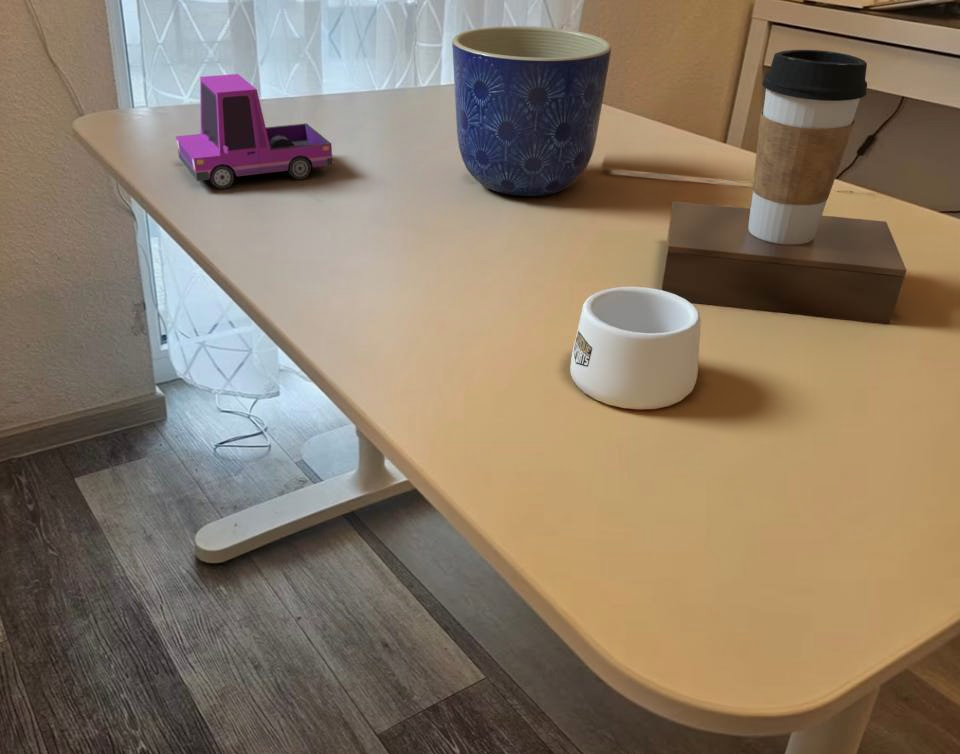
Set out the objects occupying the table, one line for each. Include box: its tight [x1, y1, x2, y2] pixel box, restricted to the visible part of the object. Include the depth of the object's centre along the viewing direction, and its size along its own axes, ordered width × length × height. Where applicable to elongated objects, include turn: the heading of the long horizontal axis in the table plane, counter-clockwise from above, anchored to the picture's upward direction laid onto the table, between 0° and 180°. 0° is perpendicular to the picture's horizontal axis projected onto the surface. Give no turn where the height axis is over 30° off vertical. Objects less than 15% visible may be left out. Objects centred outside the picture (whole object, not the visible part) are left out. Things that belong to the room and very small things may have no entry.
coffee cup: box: [748, 49, 868, 245], centre depth 82 cm, size 8×8×15 cm
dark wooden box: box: [660, 200, 907, 325], centre depth 88 cm, size 20×12×5 cm, turn 79°
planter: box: [451, 25, 612, 197], centre depth 106 cm, size 17×17×15 cm
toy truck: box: [175, 73, 334, 190], centre depth 108 cm, size 11×16×10 cm
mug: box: [569, 286, 702, 410], centre depth 72 cm, size 12×10×6 cm
